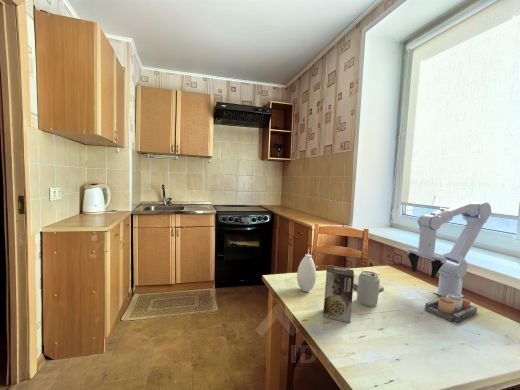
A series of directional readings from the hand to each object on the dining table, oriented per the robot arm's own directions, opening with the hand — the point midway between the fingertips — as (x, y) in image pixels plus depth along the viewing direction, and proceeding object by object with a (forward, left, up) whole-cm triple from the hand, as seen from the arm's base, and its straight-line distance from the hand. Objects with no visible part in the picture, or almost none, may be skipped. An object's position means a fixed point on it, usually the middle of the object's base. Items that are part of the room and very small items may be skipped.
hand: (423, 274), depth 108 cm
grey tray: (+3, +12, -10) cm, 16 cm away
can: (+28, -6, -10) cm, 30 cm away
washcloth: (+16, -19, -11) cm, 27 cm away
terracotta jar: (+7, +12, -10) cm, 17 cm away
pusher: (-3, +12, -10) cm, 16 cm away
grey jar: (+1, +12, -10) cm, 16 cm away
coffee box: (+47, -4, -10) cm, 48 cm away
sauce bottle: (+44, -24, -10) cm, 51 cm away
